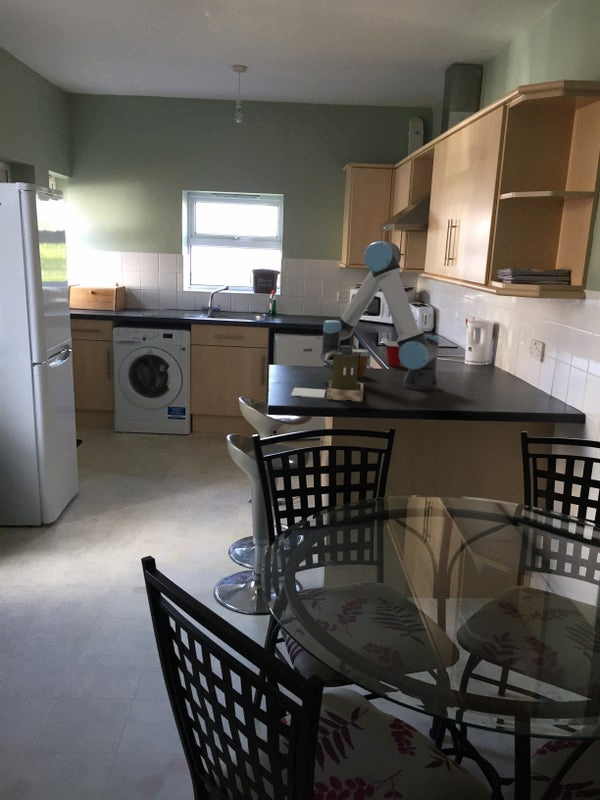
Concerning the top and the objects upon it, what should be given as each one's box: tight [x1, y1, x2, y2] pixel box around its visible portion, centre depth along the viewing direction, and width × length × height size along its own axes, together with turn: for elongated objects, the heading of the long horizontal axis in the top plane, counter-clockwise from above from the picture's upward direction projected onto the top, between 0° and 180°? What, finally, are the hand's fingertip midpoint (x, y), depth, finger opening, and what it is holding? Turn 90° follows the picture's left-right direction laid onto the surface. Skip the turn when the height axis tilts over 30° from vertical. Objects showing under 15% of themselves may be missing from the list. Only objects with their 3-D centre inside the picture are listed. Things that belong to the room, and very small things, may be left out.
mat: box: [290, 387, 327, 399], centre depth 262 cm, size 13×14×1 cm
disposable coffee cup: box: [352, 348, 369, 378], centre depth 302 cm, size 10×10×12 cm
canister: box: [331, 345, 361, 390], centre depth 258 cm, size 11×10×20 cm
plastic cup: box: [384, 340, 401, 368], centre depth 333 cm, size 11×11×12 cm
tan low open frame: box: [325, 380, 364, 402], centre depth 260 cm, size 14×16×4 cm
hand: (348, 371), depth 253 cm, fingers closed on canister, 2 cm apart
